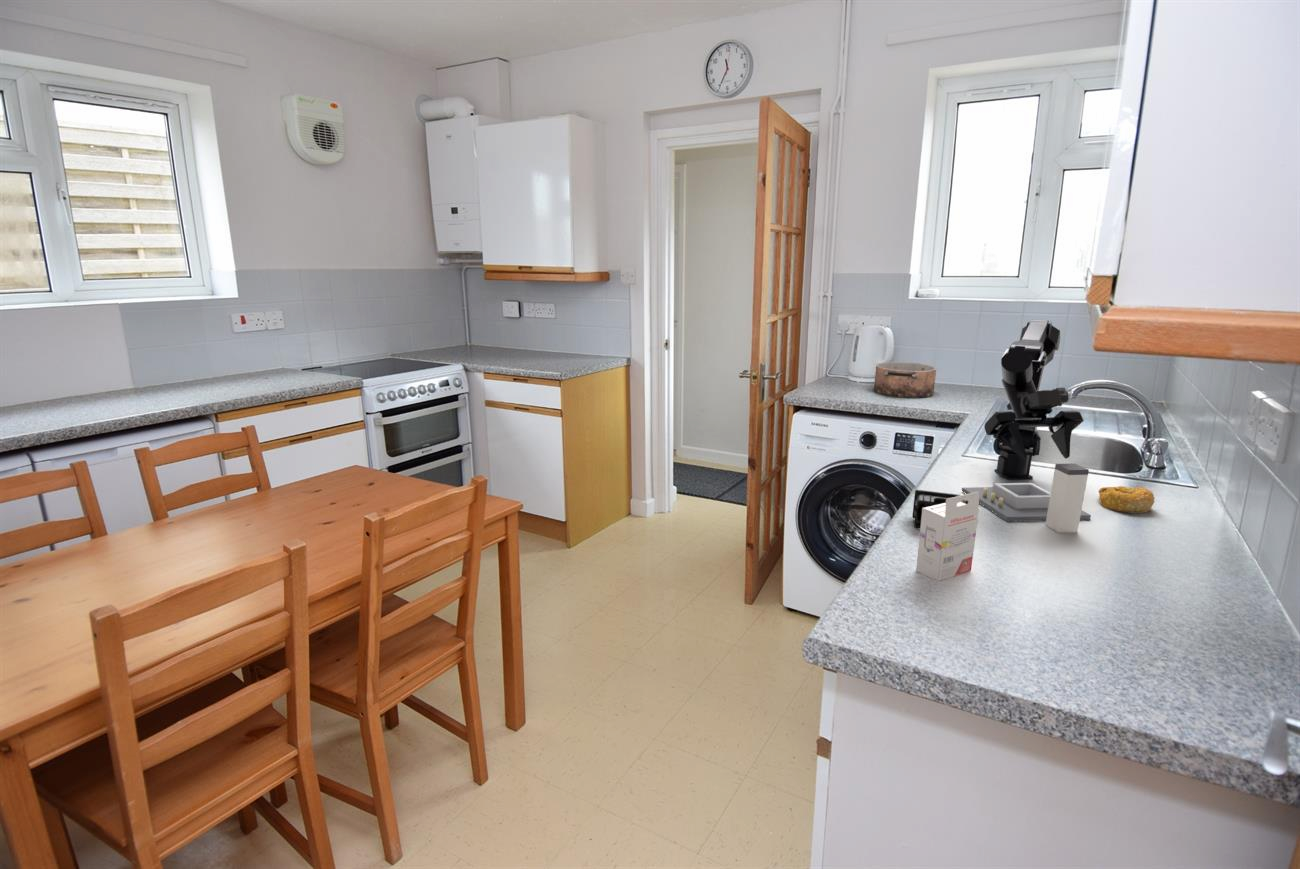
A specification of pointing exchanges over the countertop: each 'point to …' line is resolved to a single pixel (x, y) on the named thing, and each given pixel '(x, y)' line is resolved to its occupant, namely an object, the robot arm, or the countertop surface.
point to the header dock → (1016, 501)
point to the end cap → (928, 502)
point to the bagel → (1126, 499)
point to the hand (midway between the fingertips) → (1046, 457)
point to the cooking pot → (904, 380)
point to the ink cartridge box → (948, 537)
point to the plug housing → (1066, 497)
